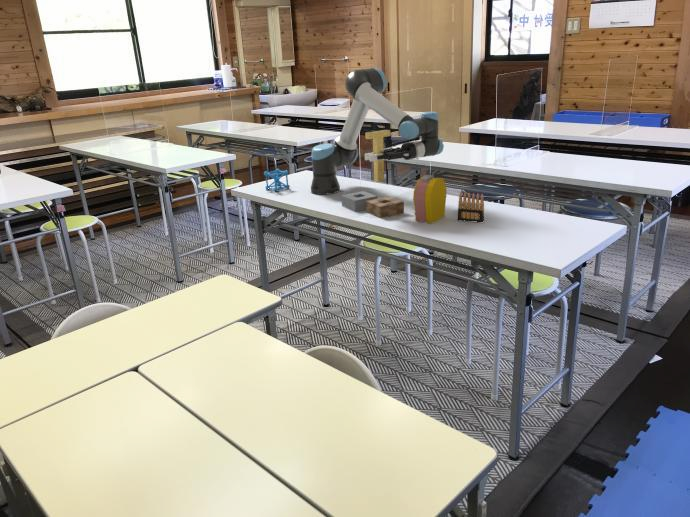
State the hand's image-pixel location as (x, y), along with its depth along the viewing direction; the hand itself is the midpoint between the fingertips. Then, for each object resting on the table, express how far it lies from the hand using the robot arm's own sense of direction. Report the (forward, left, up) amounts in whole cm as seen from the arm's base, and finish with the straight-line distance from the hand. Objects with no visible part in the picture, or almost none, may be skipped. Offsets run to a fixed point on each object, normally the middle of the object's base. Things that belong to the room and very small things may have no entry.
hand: (367, 157), depth 231 cm
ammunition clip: (+18, +41, -25) cm, 51 cm away
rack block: (-12, -4, -25) cm, 28 cm away
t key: (-3, +5, -11) cm, 12 cm away
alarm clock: (+12, +25, -25) cm, 37 cm away
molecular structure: (-53, -47, -25) cm, 76 cm away
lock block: (0, +7, -25) cm, 26 cm away
